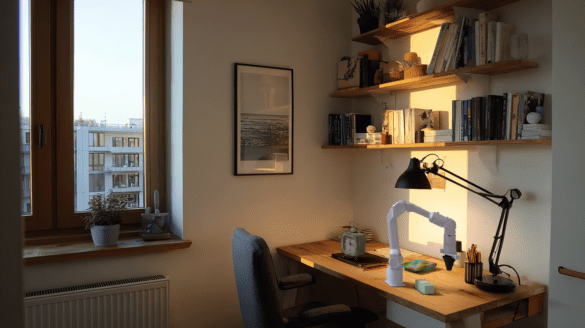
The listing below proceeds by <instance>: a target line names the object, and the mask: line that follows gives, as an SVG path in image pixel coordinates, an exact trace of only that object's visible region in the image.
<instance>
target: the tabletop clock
mask: <svg viewBox="0 0 585 328" xmlns="http://www.w3.org/2000/svg"><path fill="white" fill-rule="evenodd" d="M351 223H355V224H356V226H355V225H353V224H352V225H351ZM349 226H350V227H351V228H350V229H349V231H343V232H341V236H340V250H341V253H343V254H344V256H350V257H355V256H356V259H357V260H358V256H361V255H364V254H365V252H366V247H367V244H366V241H367V240H366V235H365V234H364V233H362V232H359V231H358V230H357V229H358V223H357V222H356V221H355V220H351V221H350V222H349ZM356 259H355V260H356Z"/></svg>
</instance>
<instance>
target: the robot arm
mask: <svg viewBox="0 0 585 328" xmlns="http://www.w3.org/2000/svg"><path fill="white" fill-rule="evenodd" d="M389 209H390V210H389V211H388V213H387V215H386V221H387V230H388V231H387V232H388V239H389V241H388V242H389V259H388V266H387V267H386V270H385V272H386V273H385V280H384V282H385V283H386V284H387V285H389V286H390V287H391V288H392V287H393V288H394V287H406V284H405V283H403V282H404V281H403V277H404V276H403V274H404V272H403V271H404V267H403V266H402V265H401V264H402V263H404V256H403V255H402V252H401V248H400V239H399V238H400V237H399V230H398V229H399V227H398V217H400V216H401V215H402V214H404V213H405V212H406V213H414V214H417V215H419V216H422V217H424V218H426V219H427V220H428V222H429V223H431V224H434V225H435V226H437V227H439V228H443V231H444V232H443V248H440V249H439V253H440V254H443V255H442V256H441V258H442V259H443V261H444V265H445V269H446V271H447V272H451V271H452V270H453V267H454V265H455V262H456V260H460V255H459V253H458V252H457V250H456V249H457V247H456V246H457V234H456V233H457V232H456V231H457V230H456V229H457V222H456V221H455V220H454V218H451V217H449V216H445V215H443V214H440V212H439V211H433V212H430V211H428V210H426V209H424V208H423V207H421V206H418V205H417V204H415V203H413V202H410V201H406V200H405V199H399V200H398V201H397V202H395V203H394V204H393V205H392V206H391V208H389Z"/></svg>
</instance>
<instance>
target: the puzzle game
mask: <svg viewBox="0 0 585 328" xmlns="http://www.w3.org/2000/svg"><path fill="white" fill-rule="evenodd" d="M401 265H402V266H403V269H404V270H405V271H410V272H413V273H417V274H420V273H424V272H428V271H431V270H434V269H436V267H437V266H438V263H437V262H433V261H429V260H426V259H423V258H417V259H414V260H411V261H406V262H402V263H401Z"/></svg>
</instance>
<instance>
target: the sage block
mask: <svg viewBox="0 0 585 328" xmlns="http://www.w3.org/2000/svg"><path fill="white" fill-rule="evenodd" d="M414 285H415V286H414V287H415V288H417V289H418V290H420V291H421V292H422V293H424V294H423V295H435V294H434V292H435V285H434V284H433V283H431V282H429V281H428V280H427V279H422V278H421V279H415V283H414Z"/></svg>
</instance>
